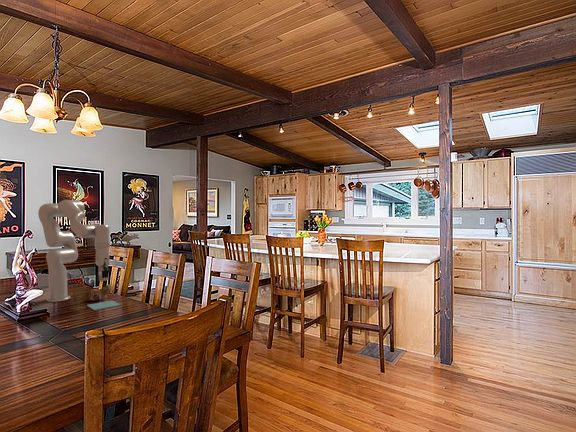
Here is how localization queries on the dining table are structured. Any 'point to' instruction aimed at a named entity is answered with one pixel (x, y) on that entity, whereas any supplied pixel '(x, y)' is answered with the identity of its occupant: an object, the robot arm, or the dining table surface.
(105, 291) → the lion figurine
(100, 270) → the tube
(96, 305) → the card
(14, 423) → the dining table surface
